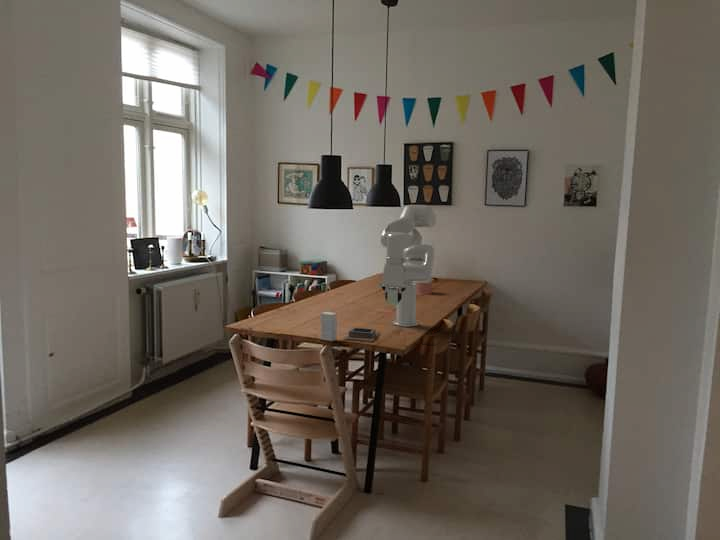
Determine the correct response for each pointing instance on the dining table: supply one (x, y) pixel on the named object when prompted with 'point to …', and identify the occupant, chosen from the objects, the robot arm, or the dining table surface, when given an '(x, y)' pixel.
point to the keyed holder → (362, 334)
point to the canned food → (424, 287)
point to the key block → (392, 296)
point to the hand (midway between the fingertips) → (393, 300)
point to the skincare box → (329, 326)
